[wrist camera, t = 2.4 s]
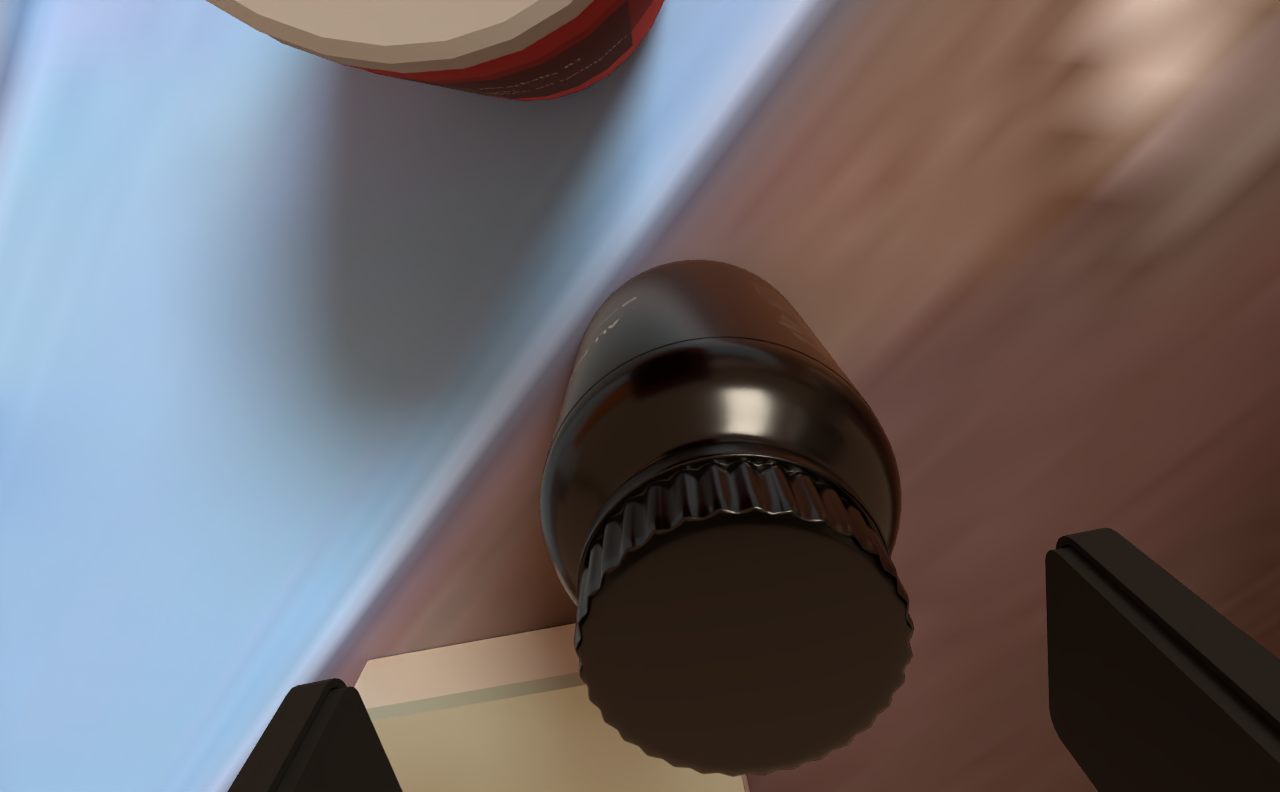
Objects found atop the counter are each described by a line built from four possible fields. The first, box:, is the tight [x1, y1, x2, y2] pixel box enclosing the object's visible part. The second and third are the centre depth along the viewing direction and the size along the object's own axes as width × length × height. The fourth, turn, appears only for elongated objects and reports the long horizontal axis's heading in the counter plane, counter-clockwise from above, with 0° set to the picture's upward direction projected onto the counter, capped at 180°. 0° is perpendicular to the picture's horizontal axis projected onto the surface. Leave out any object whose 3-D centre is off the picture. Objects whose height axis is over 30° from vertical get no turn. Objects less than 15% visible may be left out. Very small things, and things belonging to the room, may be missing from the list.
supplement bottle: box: [540, 260, 914, 777], centre depth 15 cm, size 7×7×12 cm
